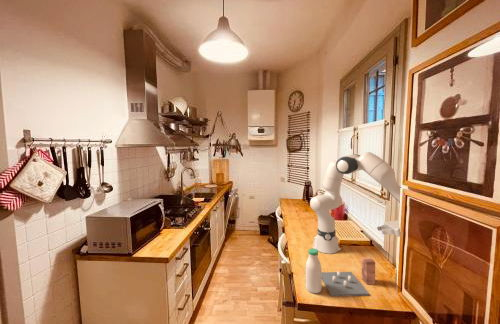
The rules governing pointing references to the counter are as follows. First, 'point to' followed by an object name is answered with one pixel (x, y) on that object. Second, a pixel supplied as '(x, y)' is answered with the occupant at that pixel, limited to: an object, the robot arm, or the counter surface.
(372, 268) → the terracotta post
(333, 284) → the peg plate
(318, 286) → the milk bottle
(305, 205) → the counter surface
